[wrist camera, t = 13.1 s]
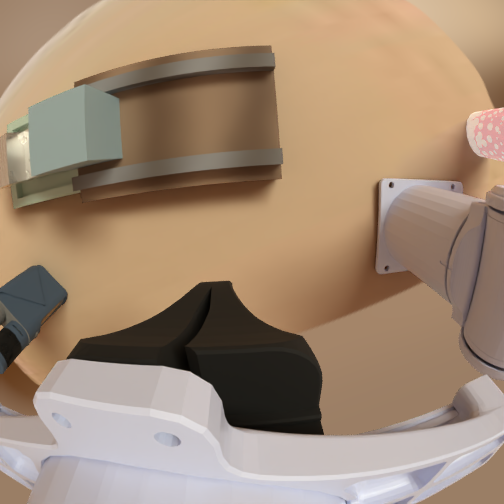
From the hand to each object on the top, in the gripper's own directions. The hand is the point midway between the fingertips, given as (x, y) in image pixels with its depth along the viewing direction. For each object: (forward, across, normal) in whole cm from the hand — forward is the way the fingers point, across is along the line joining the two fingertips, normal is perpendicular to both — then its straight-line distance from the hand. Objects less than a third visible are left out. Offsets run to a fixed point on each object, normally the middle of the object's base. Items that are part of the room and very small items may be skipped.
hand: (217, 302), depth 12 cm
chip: (+7, +15, -9) cm, 19 cm away
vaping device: (+10, +18, +3) cm, 21 cm away
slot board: (+10, +3, -9) cm, 14 cm away
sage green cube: (+8, +9, -9) cm, 15 cm away
